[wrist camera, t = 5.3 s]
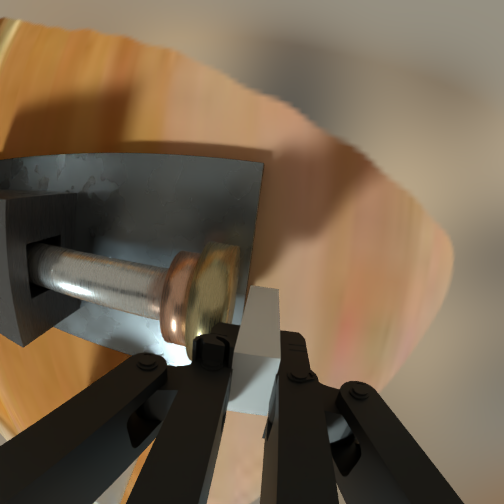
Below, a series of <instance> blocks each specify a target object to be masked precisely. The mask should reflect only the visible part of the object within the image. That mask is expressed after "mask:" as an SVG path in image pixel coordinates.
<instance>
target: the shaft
mask: <svg viewBox="0 0 504 504" xmlns="http://www.w3.org/2000/svg"><path fill="white" fill-rule="evenodd" d="M26 256H27V269H28V278H29V282H31V283H34V284H37V285H39V286H42V287H45V288H48V289H51V290H54V291H57V292H59V293H62V294H66V295H69V296H72V297H75V298H78V299H81V300H84V301H88V302H91V303H94V304H98V305H101V306H105V307H108V308H112V309H115V310H119V311H123V312H127V313H130V314H134V315H138V316H142V317H146V318H150V319H155V320H159V321H160V329H161V334H162V337H163V339H164V340H165V341H166V342H167V343H172V344H176V345H180V346H185V347H186V353H187V357H188V359H189V360H190V361H192V347H193V339H194V338H195V337H196V336H199V335H202V334H209V333H210V331H211V329H212V327H213V326H214V325H216V324H217V323H219V322H223V323H229V324H232V320H233V314H234V308H235V302H236V295H237V288H238V280H239V270H240V247H239V246H236V245H229V244H222V243H215V242H209V243H208V244H207V245H206V246H205V247H204V249H203V251H202V253H195V252H189V251H180V252H179V253H177V255H176V256H175V257H174V259H173V261H172V263H171V264H170V267H169V268H164V267H158V266H153V265H147V264H142V263H137V262H131V261H126V260H121V259H116V258H111V257H106V256H101V255H96V254H91V253H86V252H81V251H76V250H72V249H67V248H62V247H58V246H53V245H48V244H44V243H40V242H32V243H29V244H26Z"/></svg>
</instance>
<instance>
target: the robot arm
mask: <svg viewBox="0 0 504 504" xmlns="http://www.w3.org/2000/svg"><path fill="white" fill-rule="evenodd" d="M226 410H229V411H235V412H242V413H248V414H256V415H264V416H267V413H268V419H267V423H266V426H265V430H264V434H263V437H262V438H265V443H264V458H263V471H262V484H261V497H260V504H339V500H338V493H337V486H336V483H337V485H338V487H339V490H340V492H341V494H342V496H343V498H344V500H345V502H346V504H464V503H463V502H462V500H461V499H460V498H459V496H458V495H457V494H456V493H455V491H454V490H453V488H452V487H451V486H450V485H449V483H448V482H447V481H446V480H445V478H444V477H443V476H442V474H441V473H440V472H439V470H438V469H437V468H436V467H435V465H434V464H433V463H432V462H431V460H430V459H429V458H428V456H427V455H426V454H425V452H424V451H423V450H422V449H421V447H420V446H419V445H418V443H417V442H416V441H415V440H414V438H413V437H412V436H411V434H410V433H409V432H408V431H407V429H406V428H405V427H404V426H403V424H402V423H401V422H400V420H399V419H398V418H397V417H396V415H395V414H394V413H393V412H392V410H391V409H390V408H389V407H388V405H387V404H386V403H385V402H384V400H383V399H382V398H381V396H380V395H379V394H378V393H377V391H376V390H375V389H374V388H373V387H371V386H370V385H368V384H366V383H363V382H359V381H349V382H346V383H344V384H343V385H342V386H341V388H340V389H336V388H332V387H328V386H326V385H323V384H321V383H319V381H318V377H317V376H316V374H315V373H314V372H313V371H312V370H310V364H309V358H308V353H307V347H306V342H305V339H304V337H303V336H302V335H301V334H300V333H297V332H289V331H281V330H280V315H279V289H274V288H267V287H260V286H253V285H251V286H250V290H249V294H248V298H247V302H246V306H245V310H244V314H243V318H242V321H241V325H235V324H229V323H223V322H219V323H217V324H216V325H214V326H213V327H212V329H211V331H210V333H209V334H202V335H199V336H196V337H195V338H194V339H193V347H192V362H191V364H189V365H184V366H167V362H166V360H165V359H164V358H163V357H162V356H160V355H158V354H155V353H149V352H143V353H137V354H135V355H133V356H131V357H130V358H128V359H127V360H125V361H124V362H123V363H121V364H120V365H118V366H117V367H116V368H114V369H113V370H111V371H110V372H108V373H107V374H106V375H104V376H103V377H101V378H100V379H98V380H97V381H96V382H94V383H93V384H91V385H90V386H88V387H87V388H85V389H84V390H83V391H81V392H80V393H78V394H77V395H75V396H74V397H72V398H71V399H70V400H68V401H67V402H65V403H64V404H62V405H61V406H59V407H58V408H56V409H55V410H54V411H52V412H51V413H49V414H48V415H46V416H45V417H43V418H42V419H40V420H39V421H37V422H36V423H34V424H33V425H31V426H30V427H28V428H27V429H25V430H24V431H22V432H21V433H19V434H18V435H16V436H15V437H13V438H12V439H10V440H9V441H7V442H6V443H4V444H3V445H1V446H0V504H93V503H94V502H95V501H96V500H97V499H98V498H99V497H100V496H101V495H102V494H103V493H104V492H105V491H106V490H107V489H108V488H109V487H110V486H111V485H112V484H113V483H114V482H115V481H116V480H117V479H118V478H119V477H120V476H121V475H122V474H123V472H124V471H125V470H126V469H127V468H128V467H129V466H130V465H131V464H132V463H133V462H134V461H135V460H136V459H137V458H138V457H139V455H140V454H141V453H142V452H143V451H144V450H145V449H146V448H147V447H148V446H149V445H150V444H151V442H152V441H153V440H154V439H155V438H156V439H155V441H154V443H153V445H152V448H151V450H150V452H149V454H148V456H147V458H146V461H145V463H144V465H143V467H142V469H141V472H140V474H139V476H138V478H137V480H136V483H135V485H134V487H133V489H132V491H131V494H130V496H129V498H128V500H127V502H126V504H206V503H207V499H208V495H209V490H210V486H211V481H212V477H213V473H214V468H215V464H216V459H217V455H218V450H219V446H220V441H221V437H222V432H223V428H224V423H225V418H226Z"/></svg>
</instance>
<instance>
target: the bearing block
mask: <svg viewBox="0 0 504 504" xmlns="http://www.w3.org/2000/svg"><path fill="white" fill-rule="evenodd" d="M263 169H264V163H259V162H251V161H243V160H234V159H224V158H213V157H201V156H188V155H171V154H148V153H81V154H59V155H44V156H32V157H22V158H12V159H4V160H0V333H1V334H2V335H4V336H5V337H7V338H8V339H10V340H12V341H13V342H15V343H16V344H18V345H20V346H21V347H23V348H24V347H25V346H26V345H28V344H29V343H31V342H32V341H33V340H35V339H36V338H38V337H39V336H40V335H42V334H43V333H45V332H46V331H48V330H49V329H50V328H52V327H55V328H57V329H60V330H62V331H65V332H67V333H70V334H72V335H75V336H77V337H80V338H82V339H85V340H88V341H90V342H93V343H96V344H99V345H102V346H105V347H108V348H111V349H114V350H117V351H120V352H123V353H126V354H129V355H135V354H137V353H143V352H149V353H155V354H158V355H160V356H162V357H163V358H164V359H165V360H166V362H167V365H169V366H184V365H189V364H191V362H192V361H190V360H189V359H188V357H187V353H186V347H185V346H180V345H176V344H172V343H167V342H166V341H165V340H164V339H163V337H162V334H161V329H160V321H159V320H155V319H150V318H146V317H142V316H138V315H134V314H130V313H127V312H123V311H119V310H115V309H112V308H108V307H105V306H101V305H98V304H94V303H91V302H88V301H84V300H81V299H78V298H75V297H72V296H69V295H66V294H62V293H59V292H57V291H54V290H51V289H48V288H45V287H42V286H39V285H37V284H34V283H31V282H29V278H28V269H27V256H26V244H29V243H32V242H40V243H44V244H48V245H53V246H58V247H62V248H67V249H72V250H76V251H81V252H86V253H91V254H96V255H101V256H106V257H111V258H116V259H121V260H126V261H131V262H137V263H142V264H147V265H153V266H158V267H164V268H169V267H170V264H171V263H172V261H173V259H174V257H175V256H176V255H177V253H179V252H180V251H189V252H195V253H202V251H203V249H204V247H205V246H206V245H207V244H208V243H209V242H215V243H222V244H229V245H236V246H239V247H240V270H239V280H238V288H237V295H236V302H235V308H234V314H233V320H232V324H235V325H241V321H242V318H243V313H244V306H245V299H246V291H247V284H248V277H249V270H250V262H251V255H252V248H253V241H254V234H255V226H256V219H257V212H258V205H259V197H260V190H261V183H262V176H263Z"/></svg>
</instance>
